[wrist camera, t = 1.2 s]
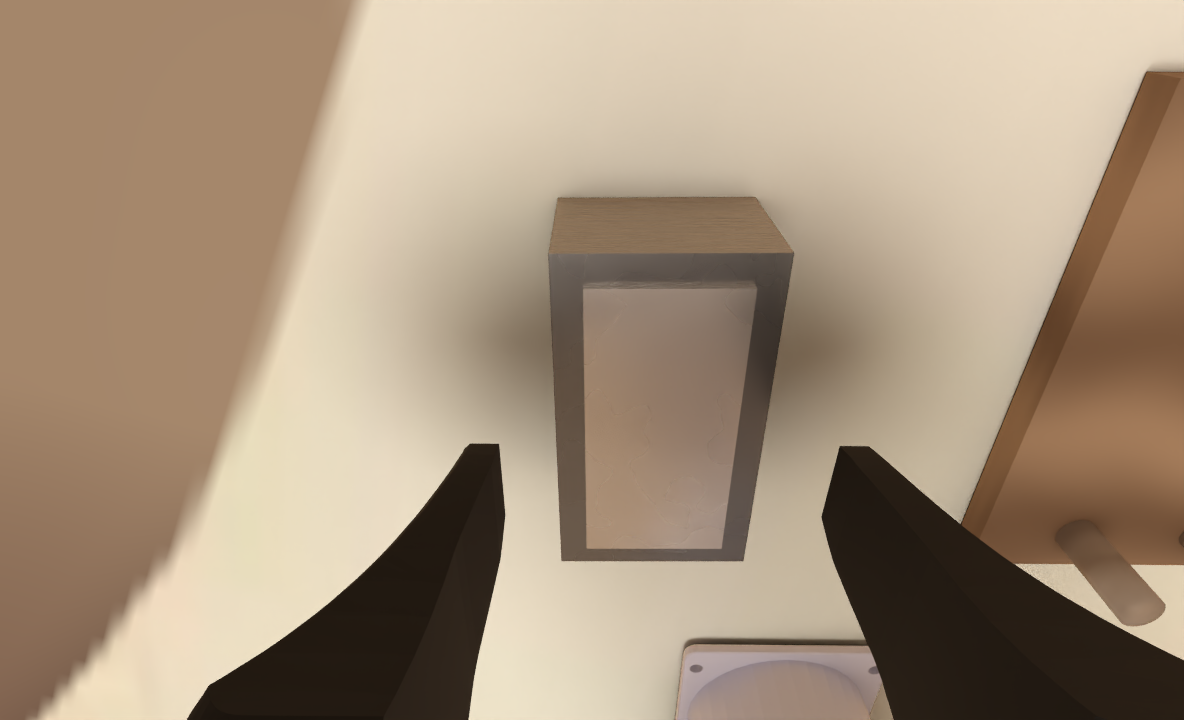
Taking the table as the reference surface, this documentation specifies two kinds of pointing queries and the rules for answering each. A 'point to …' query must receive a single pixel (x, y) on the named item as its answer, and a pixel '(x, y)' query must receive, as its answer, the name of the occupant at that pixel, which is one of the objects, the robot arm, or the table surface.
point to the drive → (662, 372)
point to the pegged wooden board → (1106, 384)
